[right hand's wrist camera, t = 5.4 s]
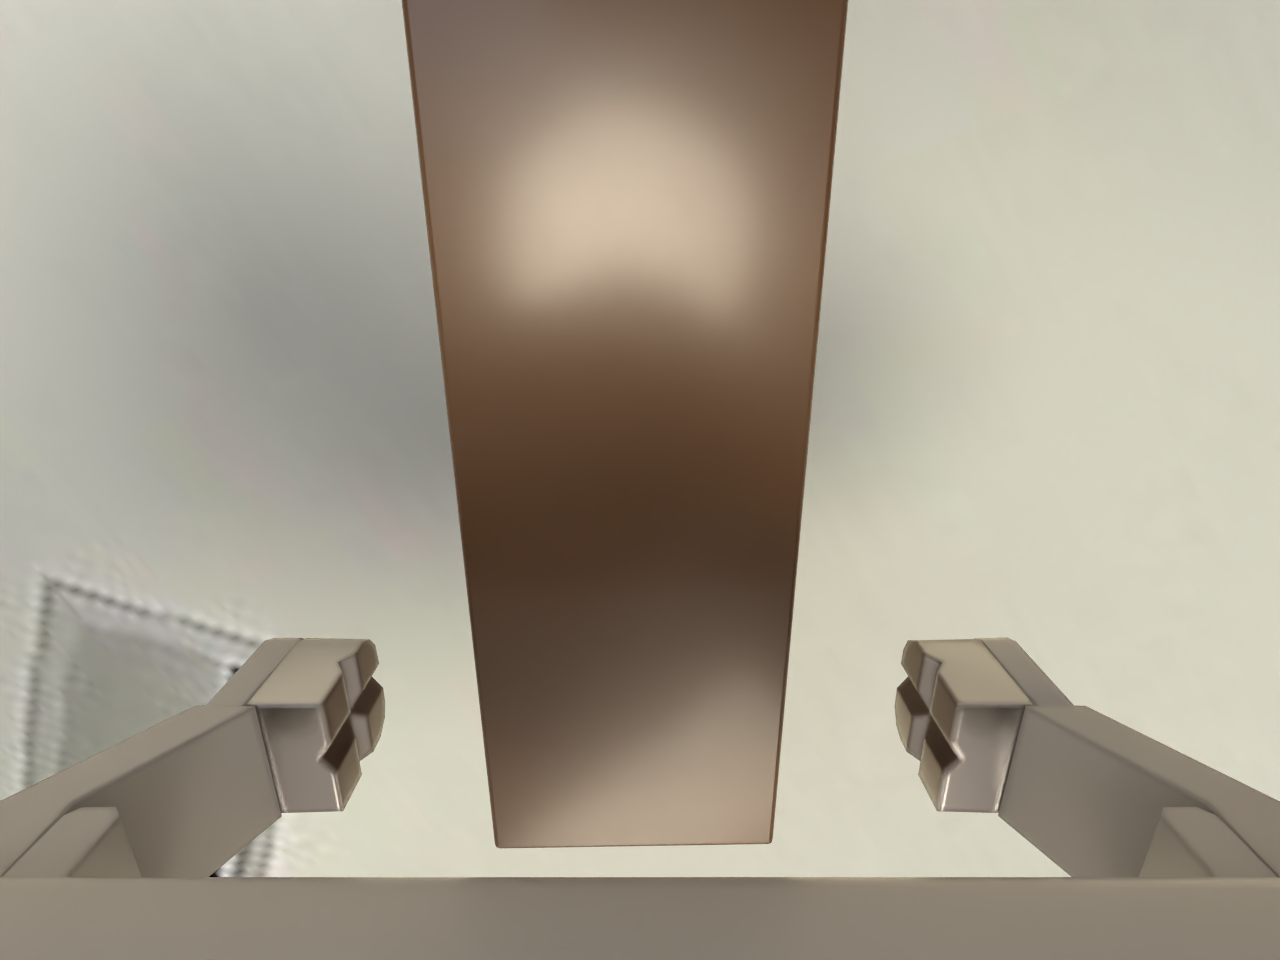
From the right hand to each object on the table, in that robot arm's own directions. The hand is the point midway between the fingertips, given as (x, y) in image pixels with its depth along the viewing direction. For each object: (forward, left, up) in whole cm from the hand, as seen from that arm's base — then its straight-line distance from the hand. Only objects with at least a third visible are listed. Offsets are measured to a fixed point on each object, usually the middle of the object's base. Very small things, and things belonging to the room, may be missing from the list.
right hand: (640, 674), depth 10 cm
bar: (+2, +9, -8) cm, 13 cm away
